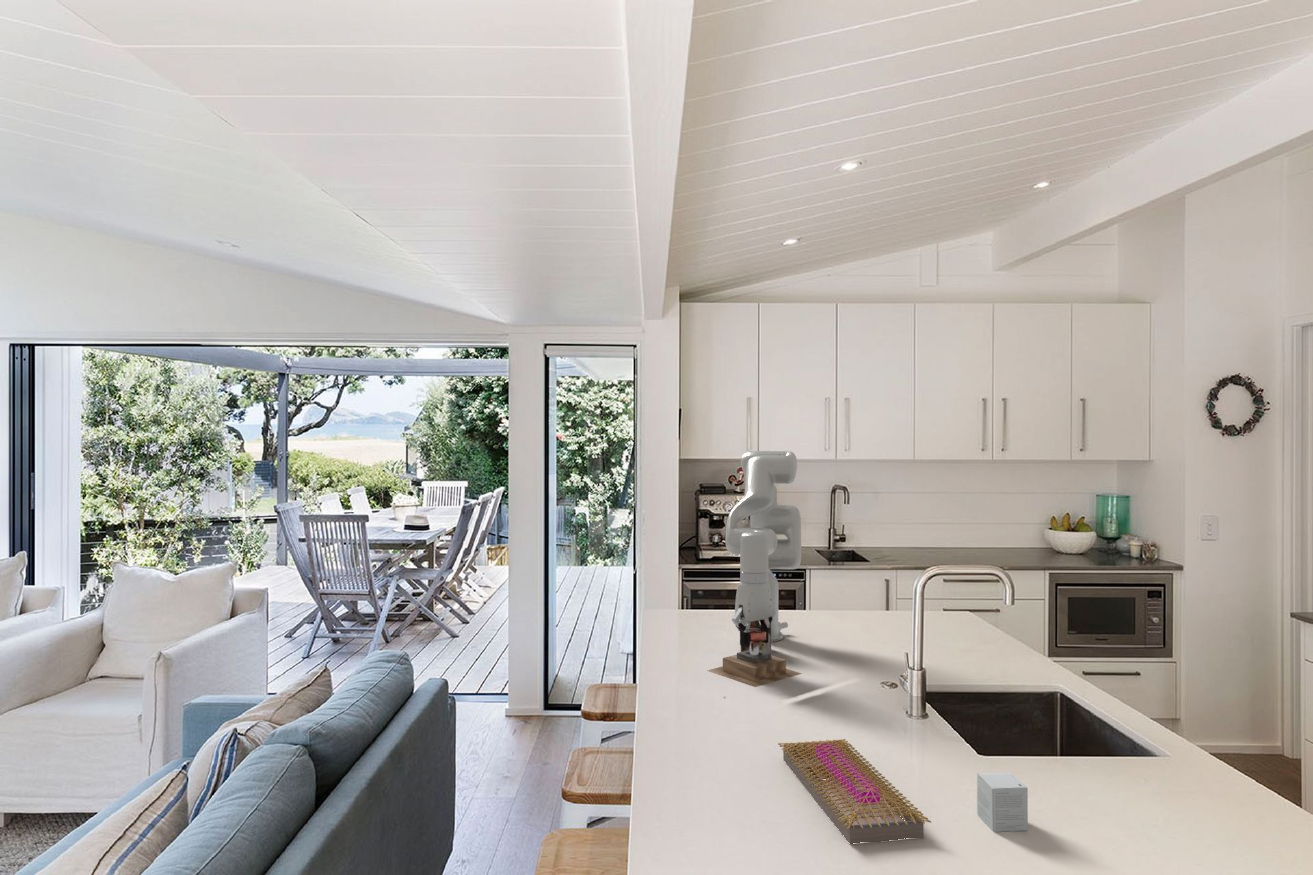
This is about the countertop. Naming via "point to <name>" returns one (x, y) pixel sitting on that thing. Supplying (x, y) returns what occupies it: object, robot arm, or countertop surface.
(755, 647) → the copper dome knob
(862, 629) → the countertop surface
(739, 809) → the countertop surface
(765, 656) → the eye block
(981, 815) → the product box
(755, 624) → the coffee box
